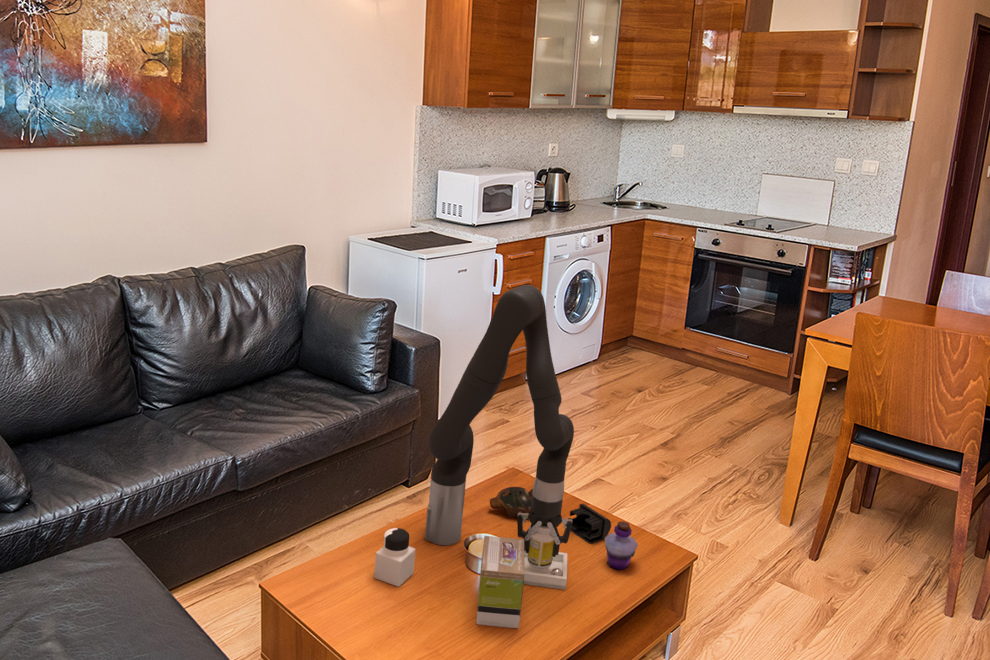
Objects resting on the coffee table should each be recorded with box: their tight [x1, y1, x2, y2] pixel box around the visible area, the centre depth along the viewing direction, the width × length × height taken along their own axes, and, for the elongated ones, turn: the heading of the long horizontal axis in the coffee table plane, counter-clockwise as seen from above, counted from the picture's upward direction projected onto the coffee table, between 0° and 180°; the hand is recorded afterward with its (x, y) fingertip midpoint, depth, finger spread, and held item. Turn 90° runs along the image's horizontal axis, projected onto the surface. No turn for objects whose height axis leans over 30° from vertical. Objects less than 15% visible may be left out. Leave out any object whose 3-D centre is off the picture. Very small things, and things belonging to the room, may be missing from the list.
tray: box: [523, 551, 568, 591], centre depth 212 cm, size 14×12×3 cm
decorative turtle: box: [489, 486, 533, 519], centre depth 239 cm, size 10×15×8 cm, turn 102°
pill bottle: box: [528, 526, 554, 569], centre depth 210 cm, size 6×6×11 cm
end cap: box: [569, 503, 612, 545], centre depth 233 cm, size 10×7×7 cm
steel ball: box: [551, 568, 563, 576], centre depth 208 cm, size 3×3×3 cm
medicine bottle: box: [374, 527, 416, 587], centre depth 203 cm, size 7×7×12 cm
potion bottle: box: [604, 520, 639, 571], centre depth 218 cm, size 9×9×12 cm
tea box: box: [475, 535, 525, 629], centre depth 194 cm, size 15×10×15 cm
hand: (540, 553), depth 211 cm, fingers closed on pill bottle, 6 cm apart
